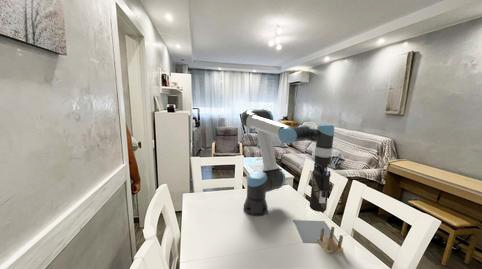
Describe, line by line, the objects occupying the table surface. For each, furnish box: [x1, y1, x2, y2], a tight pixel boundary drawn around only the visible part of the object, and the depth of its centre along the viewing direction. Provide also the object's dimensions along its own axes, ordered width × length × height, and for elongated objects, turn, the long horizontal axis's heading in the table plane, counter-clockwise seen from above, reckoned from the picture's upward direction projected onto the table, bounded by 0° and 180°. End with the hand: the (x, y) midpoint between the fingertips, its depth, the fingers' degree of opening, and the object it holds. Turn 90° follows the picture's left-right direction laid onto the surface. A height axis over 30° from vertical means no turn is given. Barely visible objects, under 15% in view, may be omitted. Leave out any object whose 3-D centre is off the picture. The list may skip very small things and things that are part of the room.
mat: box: [292, 219, 339, 244], centre depth 103 cm, size 18×18×1 cm
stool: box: [317, 226, 344, 255], centre depth 92 cm, size 8×8×8 cm
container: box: [309, 169, 332, 213], centre depth 99 cm, size 9×9×20 cm
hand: (318, 198), depth 100 cm, fingers closed on container, 8 cm apart
